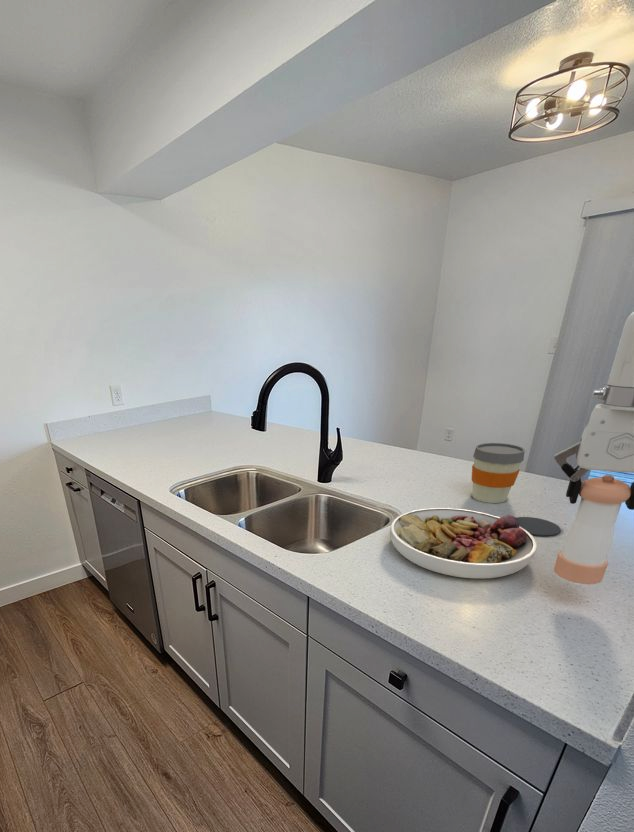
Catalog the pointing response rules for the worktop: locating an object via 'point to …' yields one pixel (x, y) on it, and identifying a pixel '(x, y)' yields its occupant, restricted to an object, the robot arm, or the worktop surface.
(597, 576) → the salt shaker
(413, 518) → the bowl
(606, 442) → the robot arm
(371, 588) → the worktop surface
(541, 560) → the worktop surface
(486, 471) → the reusable coffee cup
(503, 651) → the worktop surface
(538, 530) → the coaster
